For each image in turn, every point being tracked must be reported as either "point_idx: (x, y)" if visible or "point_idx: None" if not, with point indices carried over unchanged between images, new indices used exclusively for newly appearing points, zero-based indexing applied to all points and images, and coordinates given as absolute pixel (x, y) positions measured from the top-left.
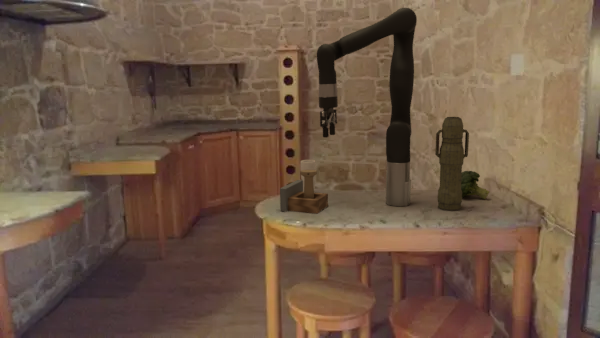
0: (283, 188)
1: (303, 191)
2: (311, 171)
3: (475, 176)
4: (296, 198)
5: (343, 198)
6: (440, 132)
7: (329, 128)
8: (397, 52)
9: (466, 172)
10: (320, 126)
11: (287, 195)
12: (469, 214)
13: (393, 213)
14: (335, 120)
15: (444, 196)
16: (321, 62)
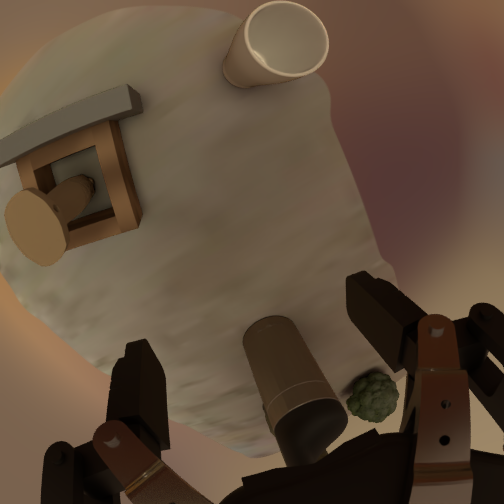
0: None
1: (225, 57)
2: (34, 248)
3: (370, 421)
4: (26, 186)
5: (252, 201)
6: None
7: (385, 309)
8: None
9: (379, 416)
10: (52, 445)
11: (9, 162)
12: (257, 427)
13: (187, 367)
14: (469, 384)
15: (269, 424)
16: None
